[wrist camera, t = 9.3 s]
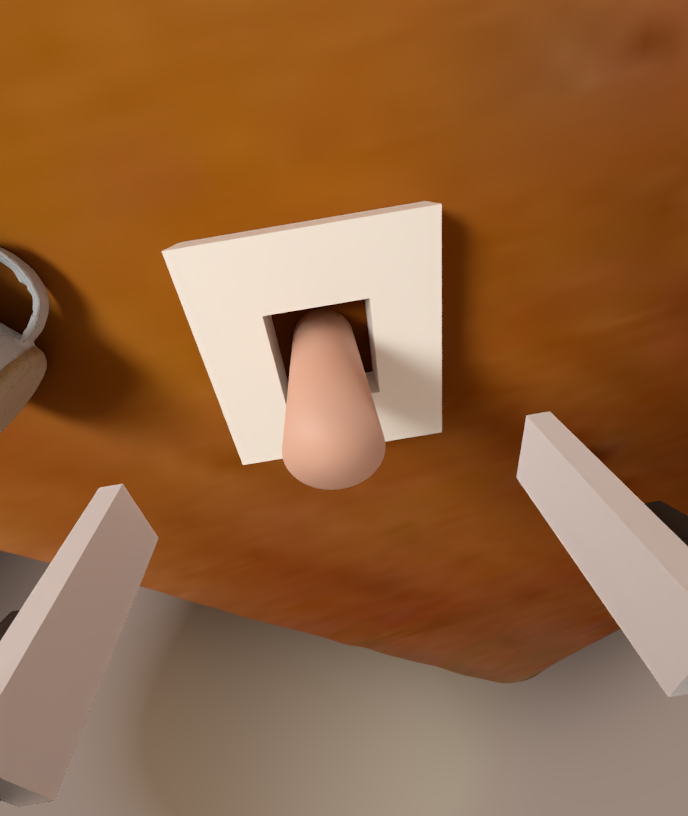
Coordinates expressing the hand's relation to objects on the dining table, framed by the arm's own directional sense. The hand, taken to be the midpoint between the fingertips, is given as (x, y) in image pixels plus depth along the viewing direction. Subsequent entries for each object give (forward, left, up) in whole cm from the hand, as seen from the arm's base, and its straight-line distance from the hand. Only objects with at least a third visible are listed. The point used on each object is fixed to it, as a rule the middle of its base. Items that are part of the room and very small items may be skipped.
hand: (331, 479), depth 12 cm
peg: (0, 0, -14) cm, 14 cm away
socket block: (0, 0, -14) cm, 14 cm away
